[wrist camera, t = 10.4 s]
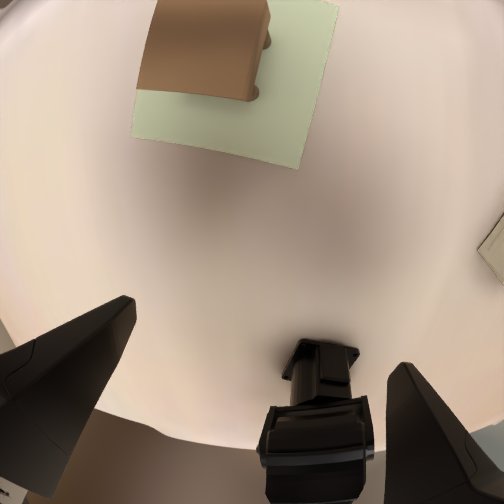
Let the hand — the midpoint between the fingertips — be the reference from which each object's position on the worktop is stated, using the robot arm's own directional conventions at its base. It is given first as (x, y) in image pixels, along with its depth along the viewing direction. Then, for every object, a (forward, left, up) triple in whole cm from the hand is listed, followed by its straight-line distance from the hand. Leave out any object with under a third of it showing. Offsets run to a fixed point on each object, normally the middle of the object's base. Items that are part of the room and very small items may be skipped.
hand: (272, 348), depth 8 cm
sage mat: (+9, +6, -13) cm, 17 cm away
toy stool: (+9, +6, -12) cm, 16 cm away
